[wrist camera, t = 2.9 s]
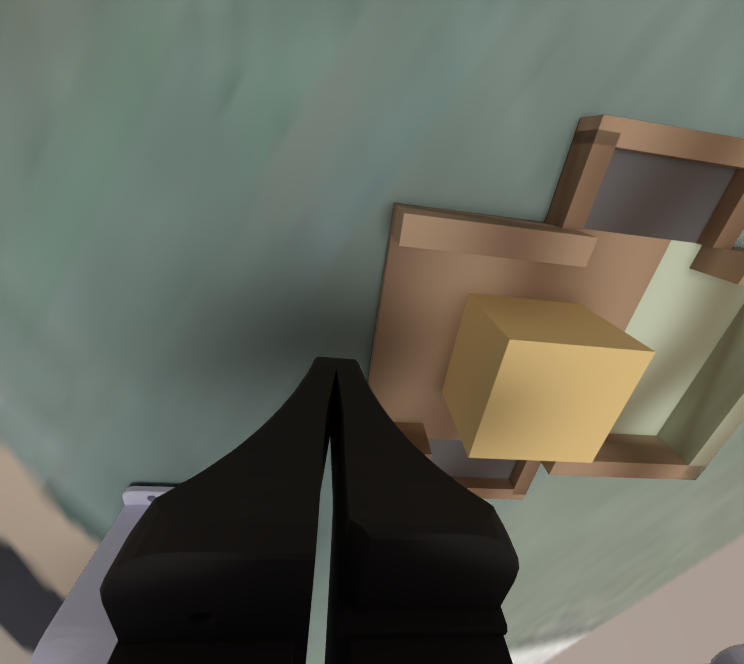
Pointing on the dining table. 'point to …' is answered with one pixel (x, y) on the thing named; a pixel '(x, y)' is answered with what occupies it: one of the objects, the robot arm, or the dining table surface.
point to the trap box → (586, 298)
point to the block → (538, 378)
